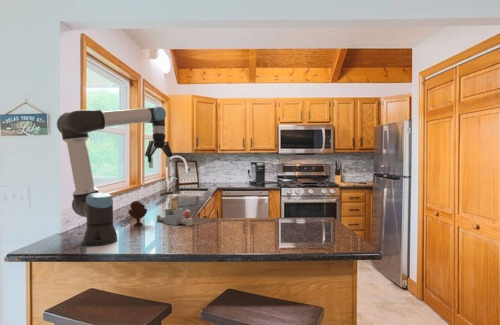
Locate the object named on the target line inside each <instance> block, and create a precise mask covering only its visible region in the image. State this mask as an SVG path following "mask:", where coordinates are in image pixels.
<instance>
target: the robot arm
mask: <svg viewBox="0 0 500 325" xmlns="http://www.w3.org/2000/svg"><path fill="white" fill-rule="evenodd" d="M166 112H167V111H166V109H165V108H164V107H162V106H154V107H145V108H143V107H142V108H130V109H121V110H119V109H118V110H106V111H102V110H101V109H76V110H72V111H67V112H64V113H62V114H61V115H60V116H58V119H57V121H56V128H57V130H58V132H60V133H61V138H62V141H63V142H65V143H66V146H67V151H68V155H69V161H70V167H71V172H72V178H73V179H72V180H73V184H74V188H75V190H74V191H73V192H72V197H73V199H72V201H71V209H72V211H73V212H74V213H75V214H76V215H78V216H80V217H82V218H86V229H85V231H84V235H83V238H82V244H83V245H84V246H87V247H88V246H89V247H95V246H96V247H97V246H105V245H109V244H113V243H116V242H117V241H118V233H117V231H116V228H115V226H114V200H113V196H112V194H110V193H107V192H99V189H98V188H97V187H96V186H95V184H94V179H93V173H92V167H91V161H90V156H89V150H88V144H87V140H88V139H89V138H90V135H89V133H91V132H95V131H101V130H104V129H105V128H107V127H115V126H122V125H123V126H124V125H130V124H133V125H134V124H140V123H143V124H144V123H146V124H147V123H148V124H152V125H151V126H152V140H149V142H148V145H147V148H146V150H145V153H144V157H146V158H147V163H148V169H152V168H154V159H153V155H154V153H155V152H156V150H157V149H161V151H162V152H163V153H164V155H165V168H170V165H171V164H170V162H171V157H172V156H173V153H172V150H171V147H170V142H169V141H168V140H167V141H165V140H166V134H165V133H166V117H167V113H166Z"/></svg>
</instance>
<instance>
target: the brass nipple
mask: <svg viewBox="0 0 500 325" xmlns="http://www.w3.org/2000/svg"><path fill="white" fill-rule="evenodd" d="M170 208H171V215H173V210H175V209H178V197H177V196H172V197H170Z"/></svg>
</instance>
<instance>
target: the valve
mask: <svg viewBox="0 0 500 325" xmlns="http://www.w3.org/2000/svg"><path fill="white" fill-rule="evenodd" d="M190 213H191V212H190V211H189V210H187V209H186V210H184V208H183V207H182V208H177V209H175V210H173V215H171V207H169V208H165V209H164V214H163V213H162V214H157V215H156V222H157V223H159V222H163V224H164V225H171V226H178V225H185V227H188V226H189V227H190V226H192V225H193V220H194V219H193V217H190V216H191V215H190Z"/></svg>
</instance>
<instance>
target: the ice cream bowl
mask: <svg viewBox="0 0 500 325" xmlns="http://www.w3.org/2000/svg"><path fill="white" fill-rule="evenodd" d="M129 207H130V209H128V210H127V211H128V215H129V216H130V217H131V218H133V219H134V220H135V219H136V223H134V224H133V227H143V226H144V223H141V222H140V219H143V218H144V217H145V216H146V215H147V213H148V208H146V207H145V205H144V204H143V203H141V202H140V201H138V200H134V201H132V202H130V205H129Z"/></svg>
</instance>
